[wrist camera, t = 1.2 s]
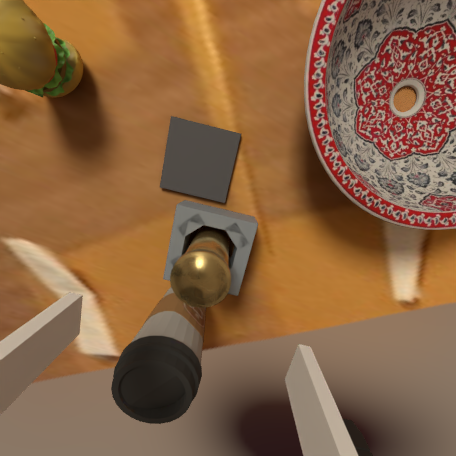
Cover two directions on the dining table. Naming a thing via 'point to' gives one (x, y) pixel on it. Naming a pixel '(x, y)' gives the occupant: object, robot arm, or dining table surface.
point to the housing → (218, 218)
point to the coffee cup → (162, 363)
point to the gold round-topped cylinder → (203, 269)
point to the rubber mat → (199, 159)
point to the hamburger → (35, 54)
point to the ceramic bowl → (386, 106)
